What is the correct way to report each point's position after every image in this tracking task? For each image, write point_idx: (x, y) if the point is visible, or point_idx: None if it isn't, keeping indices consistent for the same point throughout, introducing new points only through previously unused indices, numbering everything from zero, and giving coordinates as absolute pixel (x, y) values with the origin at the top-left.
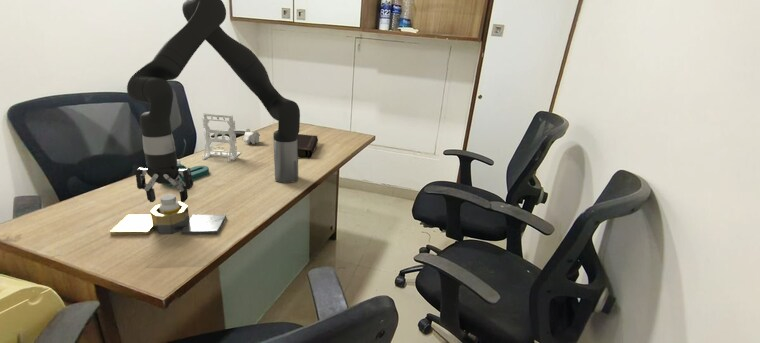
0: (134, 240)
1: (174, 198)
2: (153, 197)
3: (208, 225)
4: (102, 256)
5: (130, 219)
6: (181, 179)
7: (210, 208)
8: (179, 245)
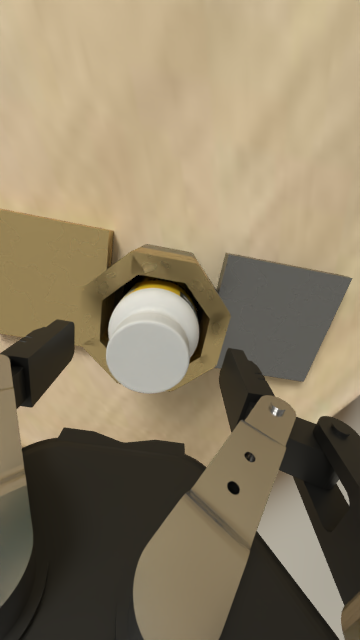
0: (78, 364)
1: (185, 371)
2: (63, 350)
3: (281, 345)
4: (38, 416)
5: (1, 254)
6: (282, 454)
7: (293, 165)
8: (201, 404)
